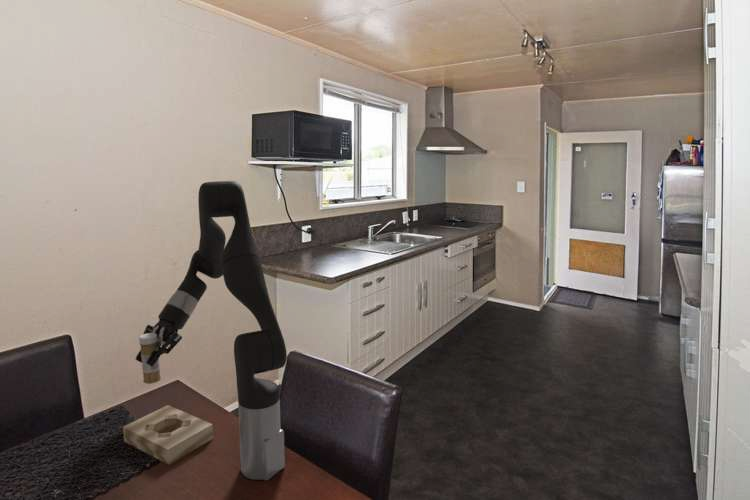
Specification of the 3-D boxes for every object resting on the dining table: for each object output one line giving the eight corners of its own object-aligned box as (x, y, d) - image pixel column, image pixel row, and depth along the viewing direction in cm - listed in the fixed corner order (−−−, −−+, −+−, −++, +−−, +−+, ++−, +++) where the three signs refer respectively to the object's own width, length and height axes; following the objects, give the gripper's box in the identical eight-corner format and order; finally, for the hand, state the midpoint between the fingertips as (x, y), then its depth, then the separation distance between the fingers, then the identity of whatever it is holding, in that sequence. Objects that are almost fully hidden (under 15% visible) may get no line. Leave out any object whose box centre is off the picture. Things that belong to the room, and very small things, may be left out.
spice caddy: (213, 438, 124) (212, 424, 123) (168, 464, 113) (167, 449, 112) (169, 418, 133) (168, 405, 132) (124, 441, 122) (122, 426, 121)
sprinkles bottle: (158, 375, 138) (154, 331, 135) (163, 381, 134) (159, 335, 132) (141, 380, 135) (137, 334, 133) (145, 386, 131) (141, 339, 129)
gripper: (154, 299, 141) (118, 351, 133) (186, 306, 134) (149, 362, 126) (171, 312, 146) (138, 363, 138) (203, 319, 139) (169, 374, 131)
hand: (143, 362), depth 132 cm, fingers closed on sprinkles bottle, 4 cm apart
